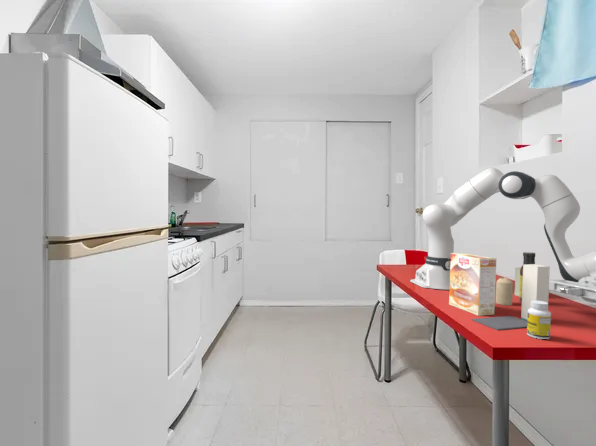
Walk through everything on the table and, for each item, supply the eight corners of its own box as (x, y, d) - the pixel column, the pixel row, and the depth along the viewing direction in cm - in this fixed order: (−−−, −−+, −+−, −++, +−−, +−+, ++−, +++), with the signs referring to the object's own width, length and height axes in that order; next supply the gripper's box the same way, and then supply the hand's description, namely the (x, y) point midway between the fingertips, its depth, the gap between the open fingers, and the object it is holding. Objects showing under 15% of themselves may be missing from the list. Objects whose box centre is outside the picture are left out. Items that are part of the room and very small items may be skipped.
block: (521, 319, 115) (523, 264, 114) (532, 318, 116) (535, 264, 116) (535, 323, 110) (537, 266, 110) (547, 322, 112) (549, 266, 111)
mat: (471, 320, 112) (471, 318, 112) (510, 317, 117) (511, 315, 117) (497, 330, 103) (497, 328, 103) (539, 326, 107) (539, 325, 107)
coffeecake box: (448, 304, 132) (449, 253, 131) (464, 303, 134) (466, 252, 133) (477, 316, 117) (479, 258, 117) (495, 315, 119) (497, 257, 119)
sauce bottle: (531, 301, 140) (533, 251, 140) (541, 305, 134) (544, 253, 133) (515, 300, 140) (517, 251, 140) (525, 304, 134) (527, 253, 133)
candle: (514, 306, 132) (515, 279, 131) (498, 305, 133) (499, 278, 133) (508, 302, 137) (509, 277, 137) (493, 301, 138) (494, 276, 138)
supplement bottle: (522, 332, 101) (524, 299, 101) (542, 334, 100) (544, 300, 100) (533, 339, 96) (534, 304, 95) (554, 340, 95) (556, 305, 95)
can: (527, 298, 144) (528, 269, 144) (508, 293, 153) (509, 266, 153) (545, 298, 146) (546, 269, 146) (526, 293, 155) (527, 266, 155)
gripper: (563, 274, 130) (534, 276, 126) (628, 286, 111) (597, 287, 107) (562, 291, 130) (534, 293, 126) (627, 305, 111) (596, 308, 107)
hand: (563, 290), depth 116 cm, fingers closed
